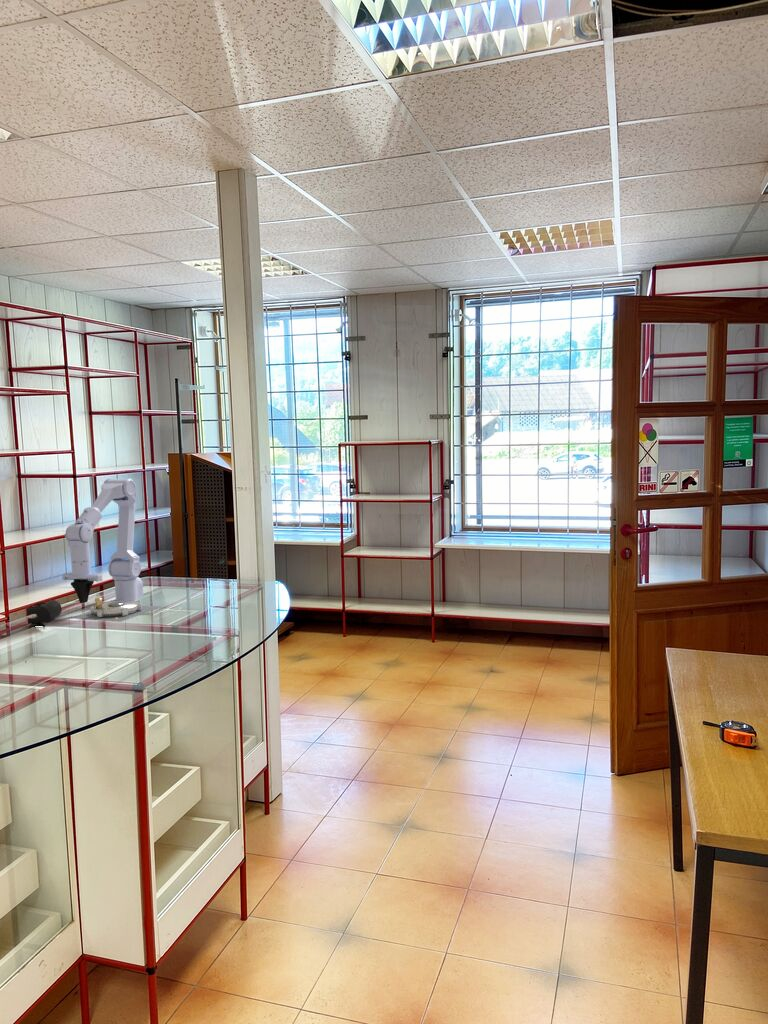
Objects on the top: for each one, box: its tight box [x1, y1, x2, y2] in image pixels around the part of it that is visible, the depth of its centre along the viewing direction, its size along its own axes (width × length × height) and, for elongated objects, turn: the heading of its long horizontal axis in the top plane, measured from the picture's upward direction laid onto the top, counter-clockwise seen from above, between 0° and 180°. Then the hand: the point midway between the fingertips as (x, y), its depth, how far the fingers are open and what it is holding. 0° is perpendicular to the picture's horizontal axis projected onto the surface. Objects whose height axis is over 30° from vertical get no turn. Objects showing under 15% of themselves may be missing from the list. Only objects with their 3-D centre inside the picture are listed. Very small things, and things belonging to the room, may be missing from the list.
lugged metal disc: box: [90, 597, 143, 617], centre depth 236 cm, size 14×16×5 cm
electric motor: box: [26, 599, 63, 628], centre depth 230 cm, size 10×7×7 cm
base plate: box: [70, 605, 161, 622], centre depth 237 cm, size 20×20×2 cm
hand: (83, 602), depth 235 cm, fingers closed
